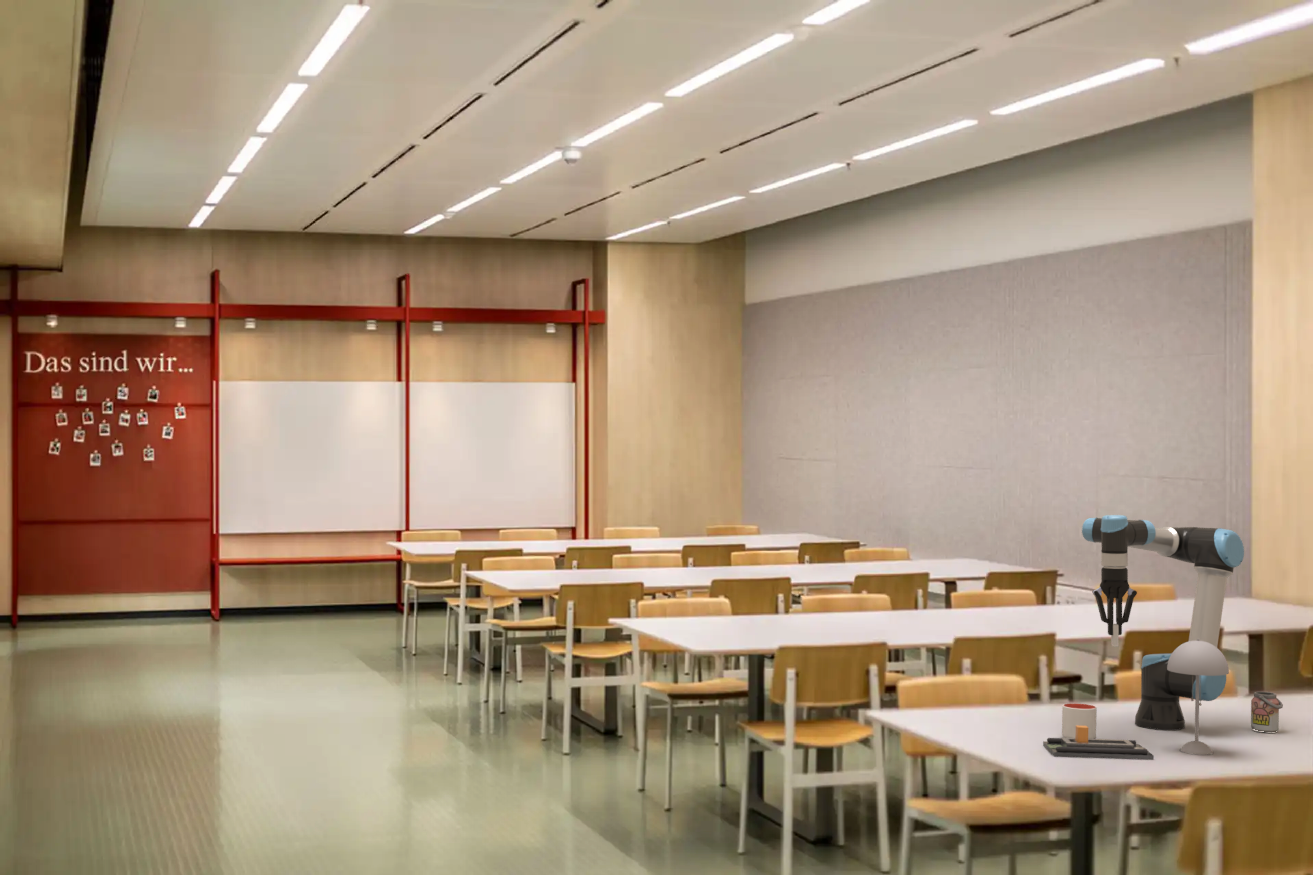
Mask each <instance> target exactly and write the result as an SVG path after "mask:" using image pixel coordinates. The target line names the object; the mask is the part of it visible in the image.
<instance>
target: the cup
mask: <svg viewBox="0 0 1313 875" xmlns="http://www.w3.org/2000/svg"><path fill="white" fill-rule="evenodd" d="M1097 708H1098V707H1097V706H1096V705H1092V704H1086V703H1073V702H1072V703H1064V704H1062V708H1061V709H1062V710H1061V712H1062V713H1061V714H1062V715H1061V734H1062V738H1075V737H1076V725H1079V726H1087V727H1088V739H1097V710H1098V709H1097Z"/></svg>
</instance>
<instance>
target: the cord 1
mask: <svg viewBox="0 0 1313 875" xmlns="http://www.w3.org/2000/svg"><path fill="white" fill-rule="evenodd" d="M1061 738H1062V737H1048V738H1047V739H1046V741H1047V742H1049V743H1061ZM1128 740H1129V739H1128ZM1129 741H1130V742H1131V743H1132V744H1134V745H1136V744H1137V740H1135V739H1134V740H1133V739H1132V740H1131V739H1130V740H1129Z"/></svg>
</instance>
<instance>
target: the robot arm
mask: <svg viewBox="0 0 1313 875" xmlns="http://www.w3.org/2000/svg"><path fill="white" fill-rule="evenodd" d="M1081 533H1082V534H1081V535H1082V537H1083V538H1084V540H1085V541H1087V542H1091V543H1099V544H1100V543H1101V550H1100V552H1101V561H1100V563H1101V566H1102V567H1101V568H1100V569H1101V572H1100V575H1101V577H1100V578H1101V579H1100V580H1101V581H1100V584H1099V587H1098V588H1096V589H1092V591H1091V592H1092V595H1093V596H1094V597H1095V601H1096V604H1097V608H1098V612H1099V616H1100V620H1101V622H1103V623H1106V624H1107V634H1108V635H1109V636H1110V643H1111V644H1110V646H1111V647H1115V648H1117V647H1118V648H1119V646H1120V645H1119V640H1120V639H1119V638H1120V637H1119V636H1122V635H1123V630H1122V629H1123V625H1124V624H1125V623H1128V622H1129V619H1130V615H1131V611H1132V607H1133V603H1134V598H1136V596H1137V594H1138V591H1136V590H1135V589H1133V588H1131V587H1130V584H1129V582H1128V581H1129V580H1128V579H1129V578H1128V577H1129V575H1128V574H1129V572H1128V568H1127V567H1128V566H1129V563H1128V560H1129V559H1128V549H1129V548H1132V549H1136V550H1138V549H1139V550H1143V551H1149V552H1156V553H1157V554H1158V555H1159V556H1161V557H1166V558H1171V559H1174V560H1177V561H1181V562H1185V563H1189V564H1193V565H1194V566H1193V569H1194V570H1195V571H1196V573H1197V581H1196V587H1195V593H1194V594H1195V595H1194V601H1193V608H1192V615H1191V622H1190V630H1189V636H1188V642H1189V641H1197V639H1200V641H1204V642H1208V643H1210V644H1212V645H1214V646H1215V647H1216V648H1218V643H1219V636H1220V630H1221V622H1222V615H1223V609H1224V602H1225V595H1226V587H1227V580H1228V578H1230V577H1231V576H1232V575H1234V574H1233V573H1234V569H1235V568H1237V567H1239V566H1241V564H1242V562H1243V560H1244V556H1245V550H1244V549H1245V546H1244V543H1243V540H1242V539H1241V537H1240V535H1238V533H1237V532H1236V531H1233V530H1231V529H1228V528H1227V529H1225V528H1217V527H1216V528H1213V527H1197V526H1185V527H1183V526H1182V527H1171V526H1163V527H1161V528H1158V527H1155V524H1153V523H1152V522H1151V521H1150V520H1147V519H1137V520H1136V519H1135V520H1133V519H1128V517H1127V516H1126V515H1122V514H1106V515H1103V516H1102V517H1101V518H1100V517H1089V518H1087V519H1085V520H1084V522H1083V524H1082V526H1081ZM1102 592H1103V594H1104V595H1105V597H1106V605H1107V607H1106V608H1107V611H1106V610H1105V605H1104V601H1103V598H1102V595H1103V594H1102ZM1126 593H1127V597H1126V601H1125V604H1124V605H1125V606H1124V610H1123V598H1124V597H1125V595H1126ZM1114 601H1115V622H1116V623H1114ZM1172 653H1173V652H1171V653H1152V654H1146V655H1144V656H1143V657H1142V660H1141V667H1140V672H1141V674H1140V675H1141V677H1140V678H1141V680H1140V682H1141V684H1140V686H1141V688H1140V691H1141V693H1140V694H1141V695H1140V702H1139V705H1138V708H1137V711H1136V714H1135V717H1134V724H1135V726H1138V727H1141V728H1145V729H1150V730H1151V729H1153V730H1160V731H1161V730H1163V731H1177V730H1182V729H1185V727H1186V724H1185V723H1186V720H1185V717H1184V714H1183V710H1182V707H1181V704H1180V698H1185V699H1190V700H1191V699H1192V685H1193V699H1194V700H1195V695H1196V675H1189V674H1181V673H1175V672H1171V671H1169V670H1167V665H1168V661H1169V658H1170V656H1171V654H1172ZM1192 678H1193V684H1192ZM1200 683H1201V701H1200ZM1226 684H1227V675H1219V676H1203V675H1201V681H1200V679H1199V702H1202V701H1204V702H1213V701H1214V700H1216V699H1218V697H1220V696H1221V695H1222V693H1223V692H1224V689H1225V687H1226Z"/></svg>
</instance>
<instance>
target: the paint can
mask: <svg viewBox="0 0 1313 875" xmlns="http://www.w3.org/2000/svg"><path fill="white" fill-rule="evenodd" d="M1250 703H1251V704H1250V729H1251V730H1252V729H1255V730H1258V731H1264V732H1276V731H1277V732H1278V731H1279V727H1280V726H1279V725H1280V724H1279V722H1280V721H1279V719H1280V715H1279V714H1280V709H1283V706H1284V704H1283V703H1282V701H1281V700H1280V699H1279V698H1277V693H1275V692H1270V691H1254V692H1253V697H1252V698H1251V702H1250ZM1277 732H1276V733H1277Z"/></svg>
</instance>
